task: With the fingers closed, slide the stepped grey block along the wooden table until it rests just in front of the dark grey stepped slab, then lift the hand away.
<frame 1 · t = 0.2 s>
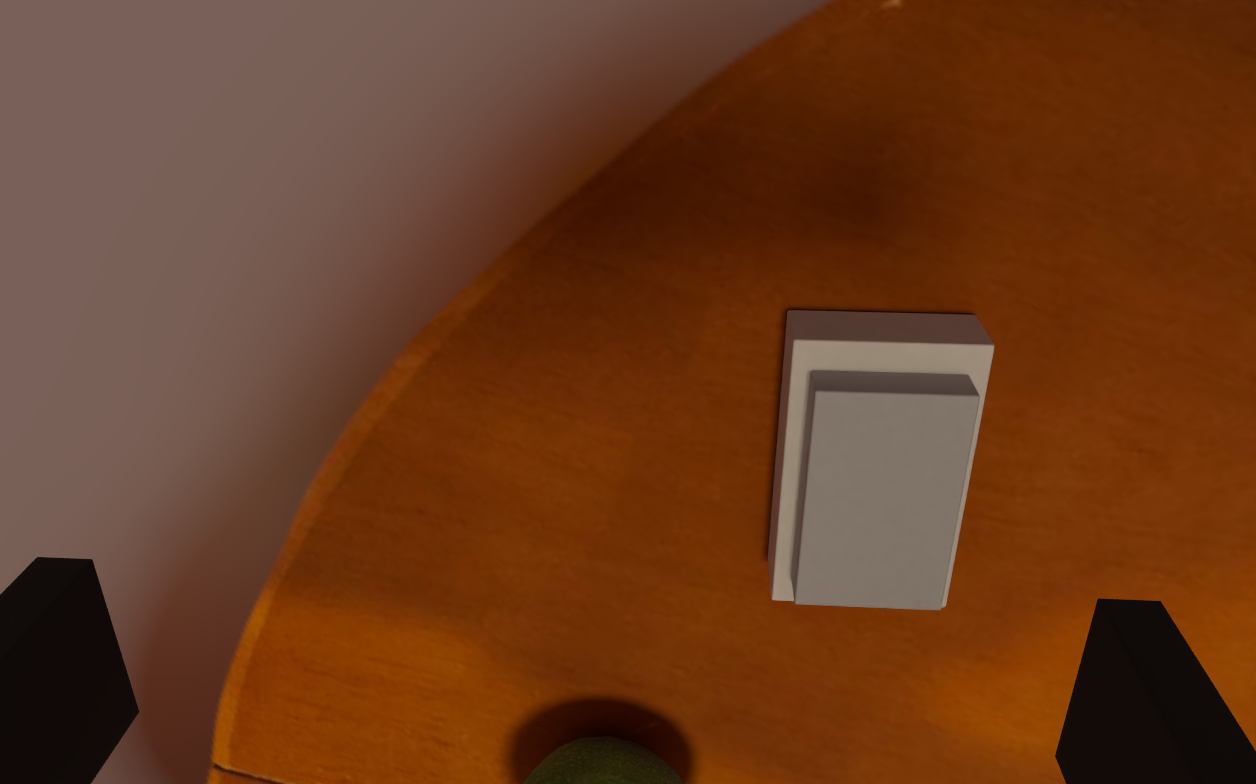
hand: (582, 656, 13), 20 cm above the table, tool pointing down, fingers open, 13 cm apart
stepped grey block: (864, 445, 34), on the table
fruit: (609, 759, 42), on the table
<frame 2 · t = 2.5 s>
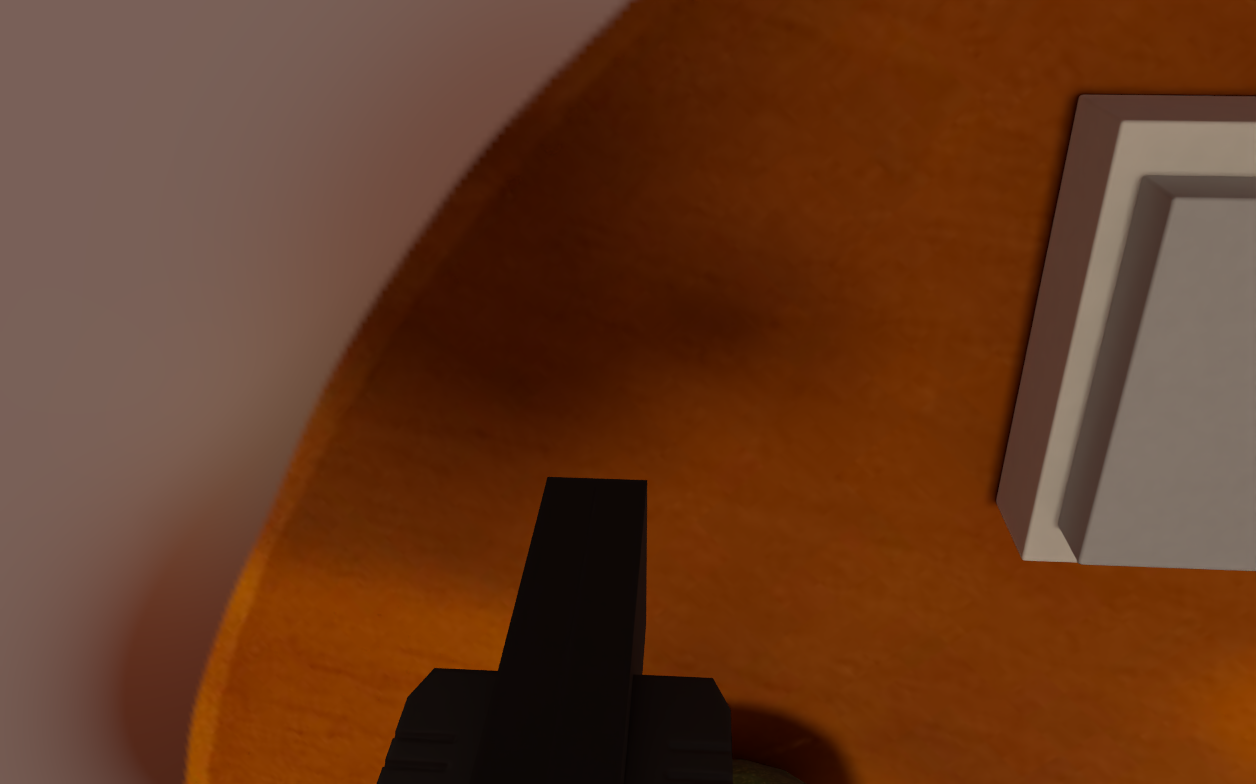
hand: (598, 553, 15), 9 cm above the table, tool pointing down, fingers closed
stepped grey block: (1168, 322, 22), on the table
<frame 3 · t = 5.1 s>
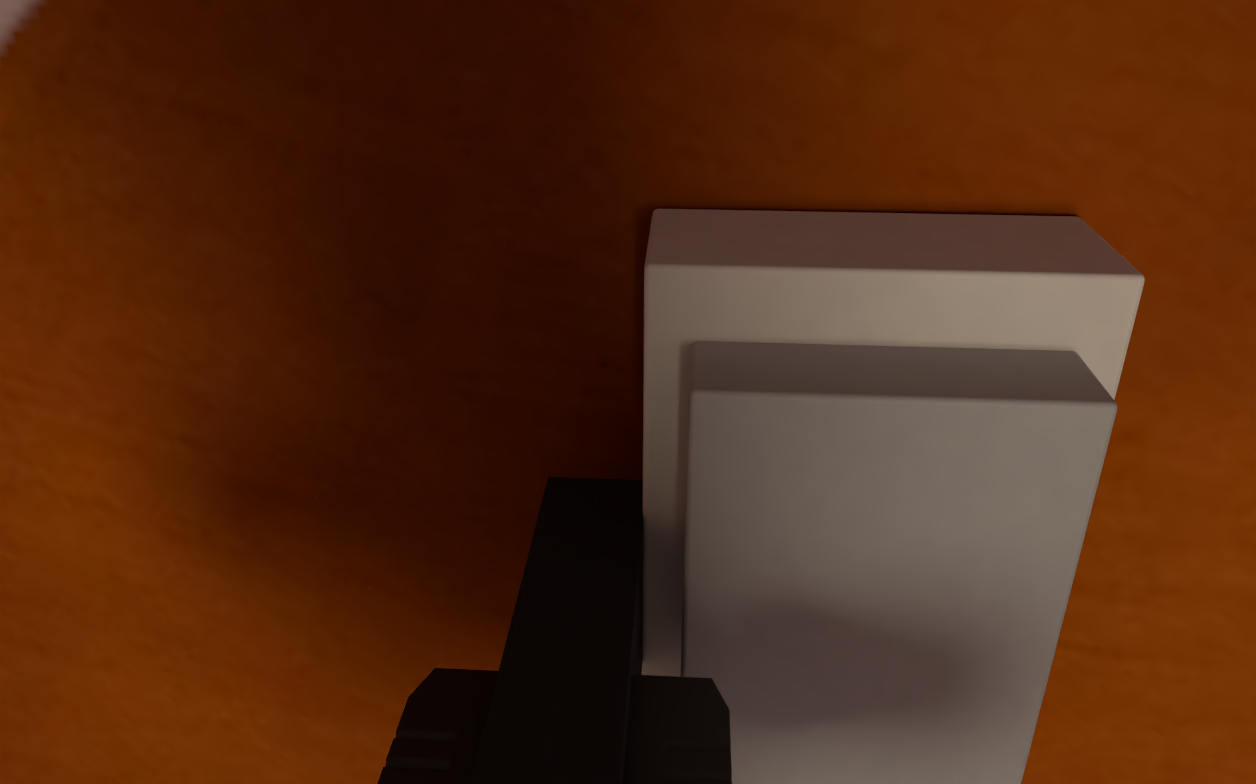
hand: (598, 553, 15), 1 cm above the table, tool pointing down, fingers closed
stepped grey block: (831, 505, 16), on the table, touching gripper
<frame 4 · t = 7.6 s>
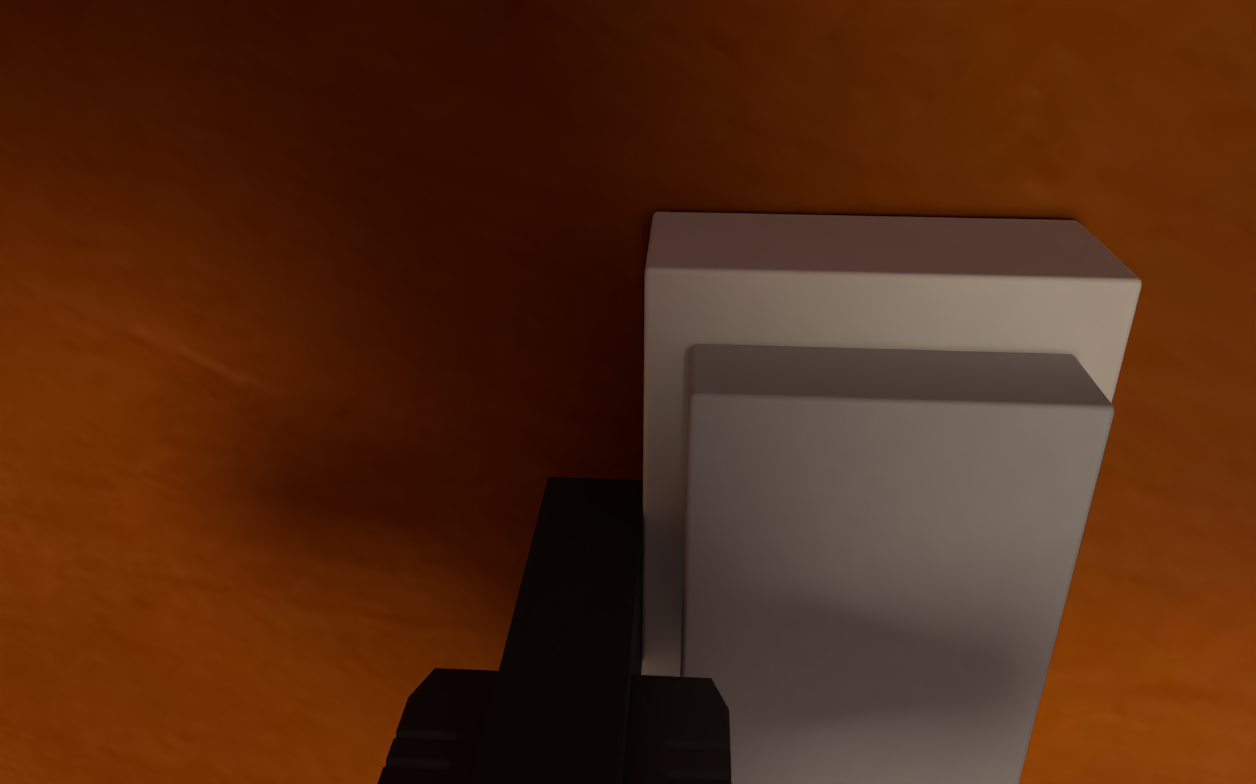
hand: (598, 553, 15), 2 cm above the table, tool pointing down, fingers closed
stepped grey block: (830, 506, 16), on the table, touching gripper
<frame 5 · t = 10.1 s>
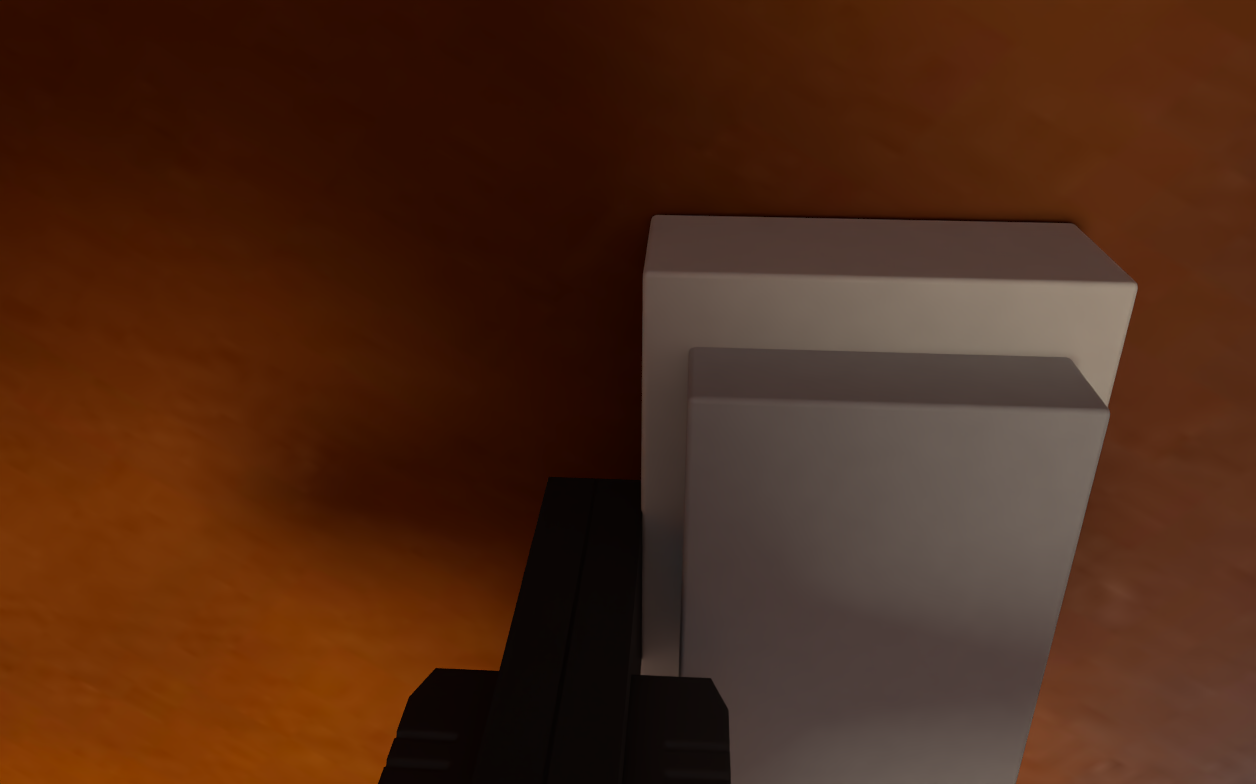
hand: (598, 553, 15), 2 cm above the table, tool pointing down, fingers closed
stepped grey block: (828, 508, 17), on the table, touching gripper
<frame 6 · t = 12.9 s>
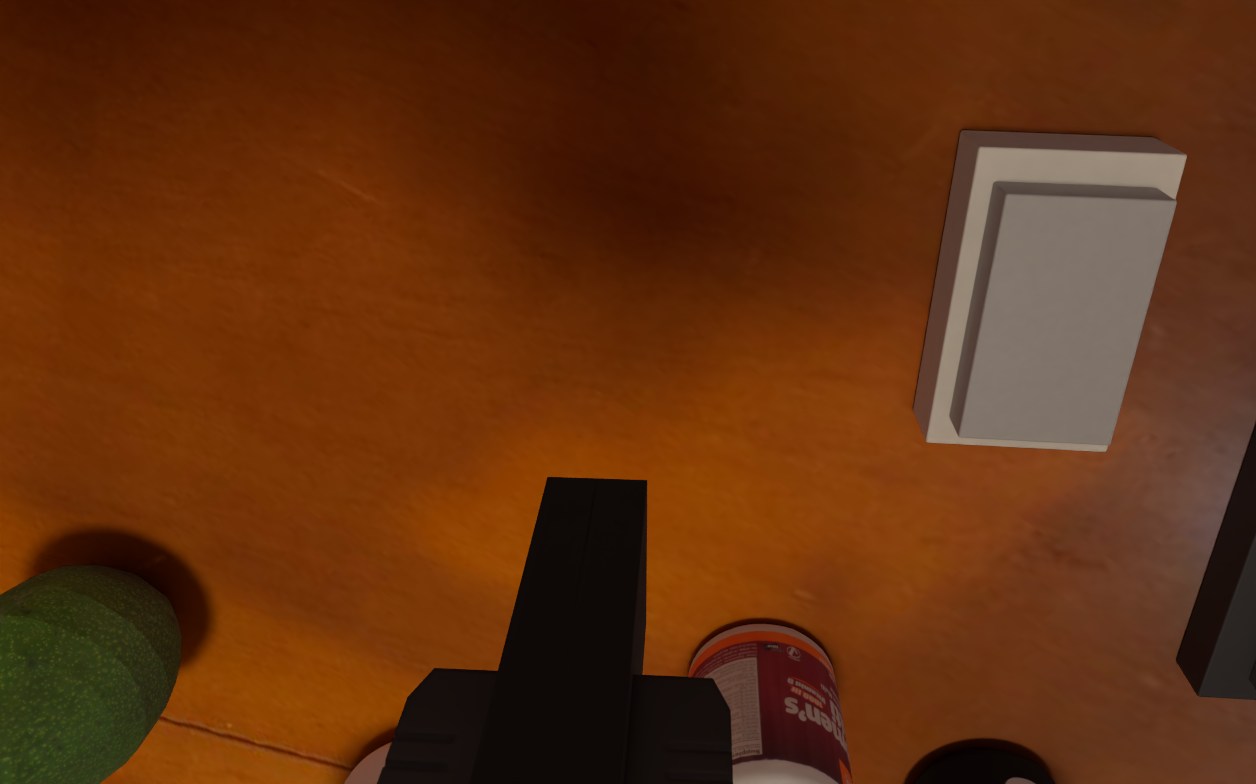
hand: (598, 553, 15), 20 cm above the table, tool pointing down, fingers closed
pill bottle: (759, 671, 42), on the table
stepped grey block: (1025, 283, 33), on the table
fruit: (129, 598, 43), on the table
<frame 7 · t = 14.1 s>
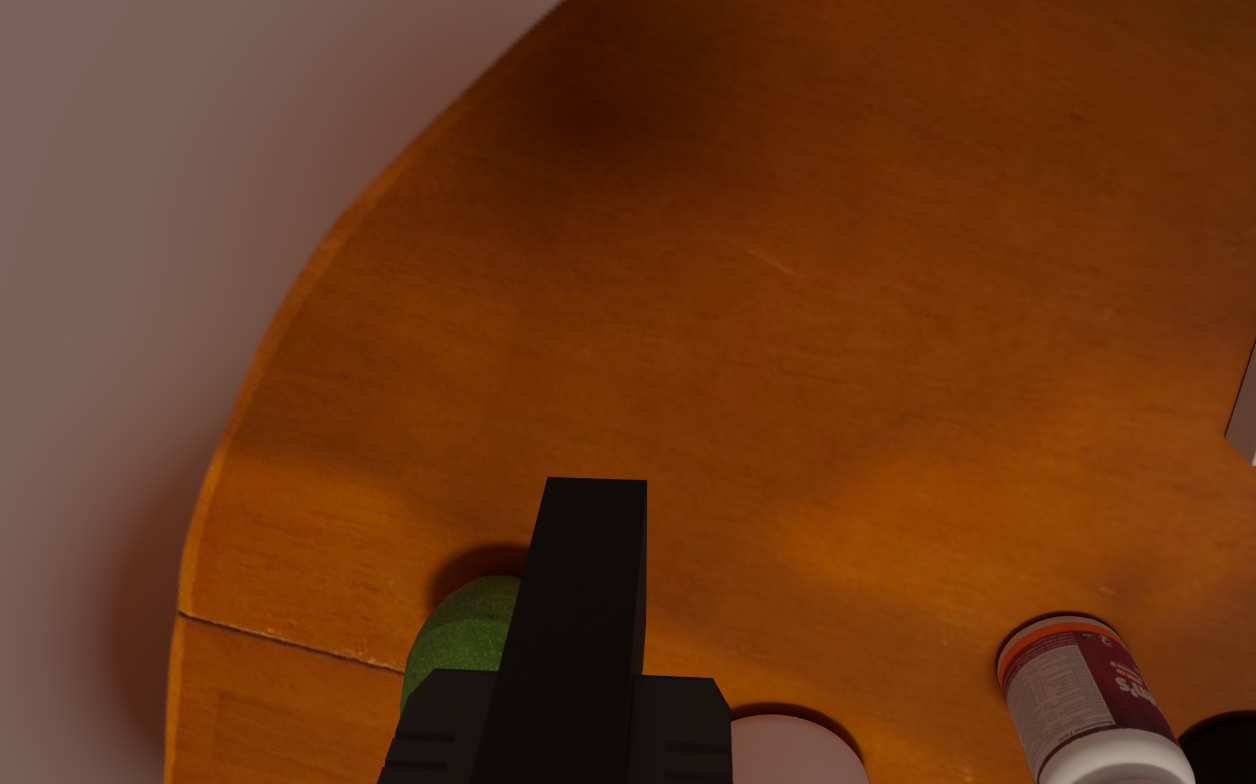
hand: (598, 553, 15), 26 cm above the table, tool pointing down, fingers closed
pill bottle: (1056, 656, 49), on the table
fruit: (514, 602, 50), on the table
cup: (771, 771, 54), on the table, touching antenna
beverage can: (1231, 754, 51), on the table
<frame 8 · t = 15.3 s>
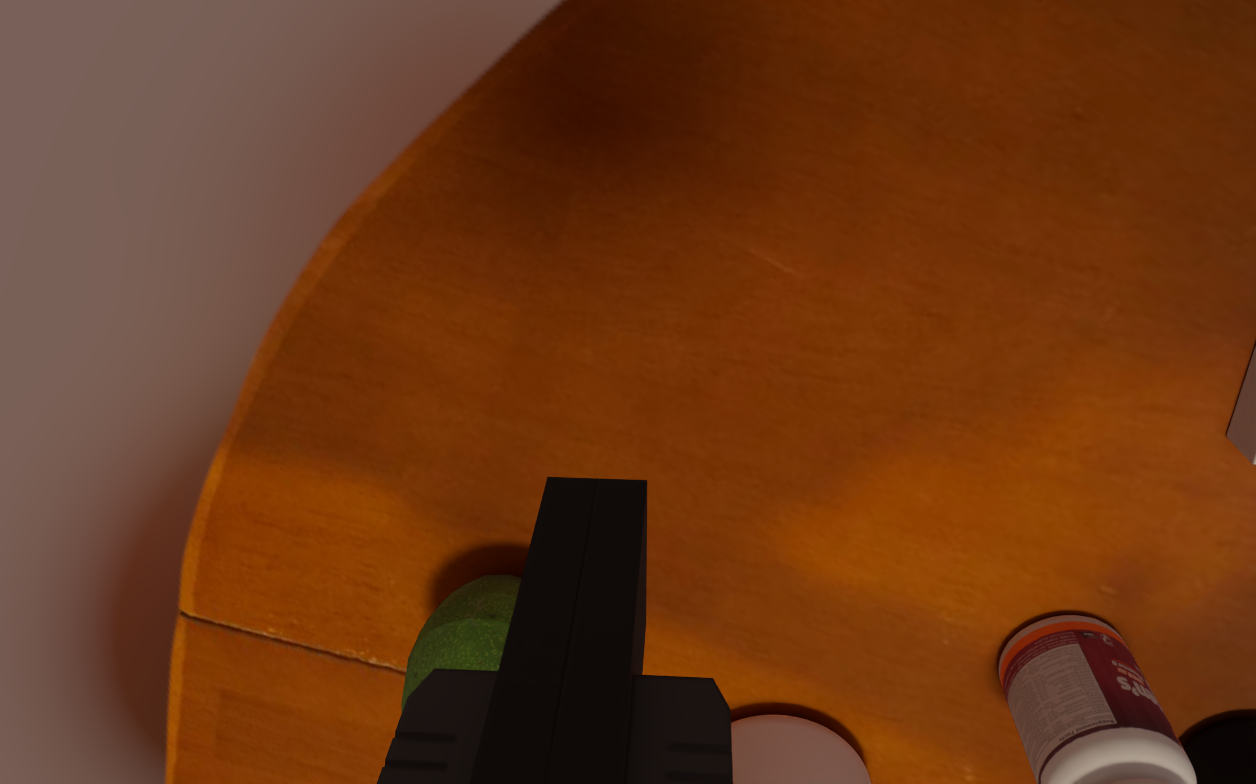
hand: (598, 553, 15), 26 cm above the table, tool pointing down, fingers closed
pill bottle: (1057, 655, 49), on the table
fruit: (515, 601, 50), on the table
cup: (774, 771, 54), on the table, touching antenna
beverage can: (1233, 753, 51), on the table
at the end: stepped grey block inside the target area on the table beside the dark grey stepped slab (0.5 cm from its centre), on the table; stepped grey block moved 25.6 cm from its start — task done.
